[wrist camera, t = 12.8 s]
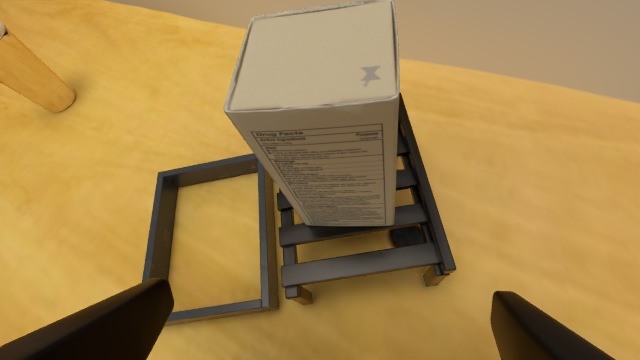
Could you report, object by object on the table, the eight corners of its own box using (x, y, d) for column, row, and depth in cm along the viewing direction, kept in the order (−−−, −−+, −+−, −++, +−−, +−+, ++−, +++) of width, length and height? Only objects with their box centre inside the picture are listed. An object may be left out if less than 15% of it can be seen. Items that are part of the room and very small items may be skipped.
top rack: (397, 139, 24) (400, 92, 20) (438, 286, 19) (457, 269, 14) (289, 160, 25) (269, 120, 20) (302, 306, 20) (277, 296, 15)
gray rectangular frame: (271, 164, 25) (263, 151, 24) (279, 309, 20) (269, 306, 18) (172, 183, 26) (157, 172, 24) (155, 327, 21) (135, 326, 19)
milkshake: (77, 74, 35) (-24, -13, 26) (84, 103, 33) (-24, 17, 24) (39, 94, 35) (-76, 12, 26) (44, 125, 32) (-81, 46, 24)
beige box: (393, 157, 19) (404, -8, 10) (395, 228, 17) (410, 103, 8) (308, 158, 20) (247, 9, 11) (300, 226, 18) (218, 112, 9)
